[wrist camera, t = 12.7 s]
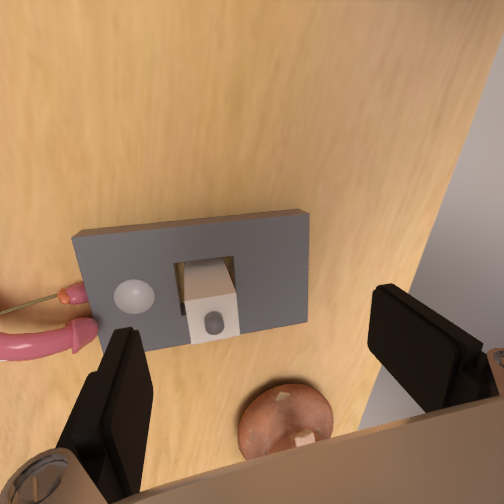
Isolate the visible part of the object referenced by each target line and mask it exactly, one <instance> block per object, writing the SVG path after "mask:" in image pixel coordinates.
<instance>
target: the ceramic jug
mask: <svg viewBox="0 0 504 504" xmlns="http://www.w3.org/2000/svg"><path fill="white" fill-rule="evenodd" d="M332 431H333V413H332V409H331V406H330V404H329V402H328V401H327V399H326V398H325V397H324V396H323V395H322V394H321V393H320V392H318V391H317V390H316V389H314V388H312V387H310V386H307V385H303V384H284V385H280V386H277V387H274V388H271V389H269V390H267V391H266V392H264V393H262V394H261V395H259V396H258V397H257V398H256V399H255V400H254V401H253V402H252V403H251V404H250V405H249V406H248V408H247V409H246V410H245V412H244V414H243V416H242V418H241V420H240V423H239V427H238V445H239V449H240V451H241V453H242V455H243V457H244V458H245V459H246V460H251V459H254V458H258V457H262V456H266V455H269V454H273V453H277V452H280V451H284V450H288V449H291V448H295V447H299V446H303V445H306V444H310V443H314V442H318V441H322V440H325V439H329V438H330V437H331V434H332Z"/></svg>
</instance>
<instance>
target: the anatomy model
mask: <svg viewBox="0 0 504 504" xmlns="http://www.w3.org/2000/svg"><path fill="white" fill-rule="evenodd" d="M55 297H58V299H59V301H60V302H61V303H63V304H71V305H77V304H83V303H86V302H89V300H88V297H87V293H86V289H85V286H84V283H80V284H75V285H73V286H70V287H69V288H67V289H61V290H60V292H59V293H58V294H54V295H51V296H48V297H44V298H41V299H38V300H35V301H31V302H28V303H25V304H22V305H19V306H16V307H13V308H10V309H7V310H4V311H1V312H0V315H3V314H6V313H9V312H12V311H15V310H18V309H21V308H24V307H27V306H30V305H33V304H36V303H39V302H42V301H45V300H48V299H51V298H55ZM98 331H99V327H98V324H97V322H96V321H95V320H94V319H92V318H87V317H78V318H75V319H73V320H70V321H69V322H68V323H67V324H66V326H65V327H63V328H60V329H55V330H50V331H44V332H39V333H24V334H7V333H2V332H0V361H28V360H34V359H38V358H42V357H46V356H50V355H53V354H56V353H59V352H62V351H65V350H68V349H70V348H72V354H76V353H77V352H78V351H79V350H81V349H82V348H83V347H84V346H86V345H87V344H89V343H90V342H92V341H93V340H94V339H95V337H96V336H97V333H98Z"/></svg>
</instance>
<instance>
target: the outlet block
mask: <svg viewBox="0 0 504 504" xmlns="http://www.w3.org/2000/svg"><path fill="white" fill-rule="evenodd" d="M71 239H72V242H73V246H74V250H75V253H76V257H77V261H78V264H79V268H80V271H81V275H82V279H83V282H84V286H85V289H86V293H87V297H88V300H89V304H90V307H91V311H92V315H93V318H94V320H95V321H96V322H97V324H98V327H99V331H98V336H99V340H100V344H101V347H102V351H103V354H104V353H105V351H106V348H107V346H108V343H109V341H110V338H111V336H112V334H113V331H114V330H115V329H120V328H126V327H133V329H134V330H139V332H140V336H141V340H142V344H143V348H144V352H146V351H152V350H157V349H163V348H168V347H174V346H179V345H185V344H190V343H191V338H190V332H189V326H188V320H187V314H186V308H185V303H182V302H181V296H180V289H179V282H178V276H177V269H176V263H178V262H186V261H194V260H202V259H210V258H218V257H226V256H230V261H231V273H232V283H233V286H234V289H235V291H236V297H237V307H238V318H239V329H240V334H245V333H250V332H256V331H261V330H267V329H272V328H278V327H283V326H289V325H294V324H300V323H305V322H307V319H308V260H309V213H307V212H305V211H303V210H300V209H293V210H283V211H273V212H262V213H252V214H242V215H232V216H221V217H211V218H201V219H191V220H180V221H170V222H160V223H149V224H139V225H129V226H119V227H108V228H98V229H88V230H81V231H80V232H79V233H77V234H76V235H74V236H73V237H72V238H71Z"/></svg>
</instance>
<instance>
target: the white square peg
mask: <svg viewBox="0 0 504 504" xmlns="http://www.w3.org/2000/svg"><path fill="white" fill-rule="evenodd" d="M184 302H185V308H186V314H187V320H188V326H189V332H190V338H191V344H192V345H194V344H199V343H204V342H210V341H215V340H220V339H225V338H230V337H235V336H240V329H239V318H238V307H237V297H236V291H235V289H234V286H233V283H232V281H231V278H230V275H229V273H228V270H227V268H226V265H225V262H224V260H223V257H218V258H210V259H202V260H194V261H186V262H184Z"/></svg>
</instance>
